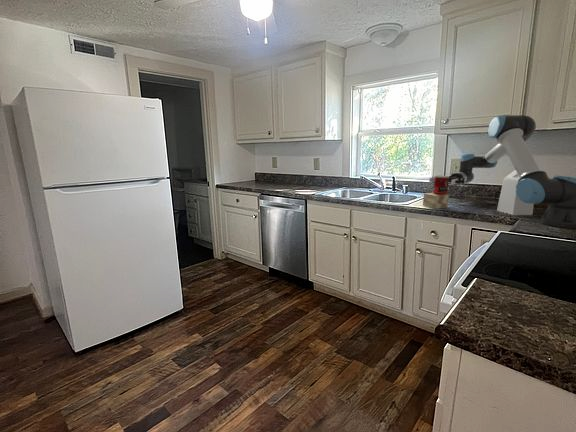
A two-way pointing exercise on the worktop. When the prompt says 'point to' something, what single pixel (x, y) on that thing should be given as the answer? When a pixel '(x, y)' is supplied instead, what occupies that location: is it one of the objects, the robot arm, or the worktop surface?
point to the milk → (512, 198)
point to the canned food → (441, 185)
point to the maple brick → (435, 200)
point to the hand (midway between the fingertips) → (440, 181)
